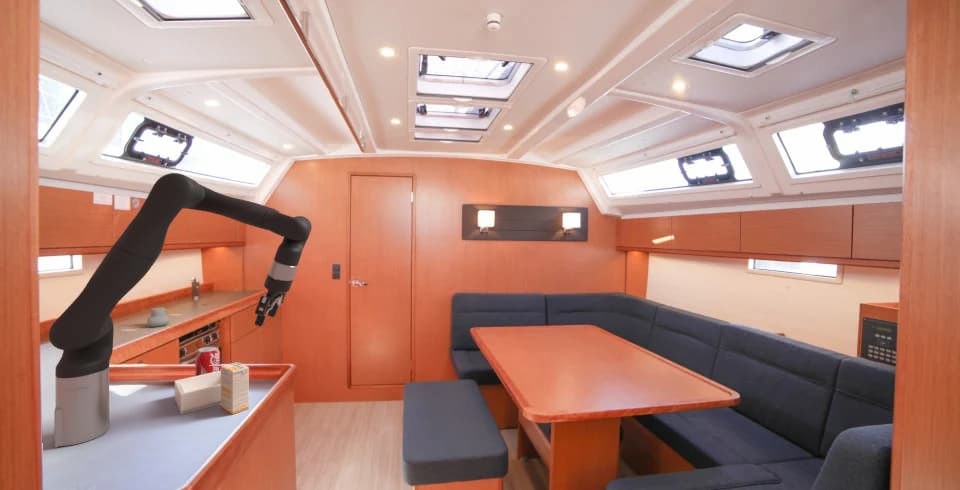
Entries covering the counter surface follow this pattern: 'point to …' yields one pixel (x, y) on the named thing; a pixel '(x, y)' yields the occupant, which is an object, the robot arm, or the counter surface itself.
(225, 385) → the supplement box
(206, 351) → the soda can
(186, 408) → the bin
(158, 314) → the air freshener
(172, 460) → the counter surface
